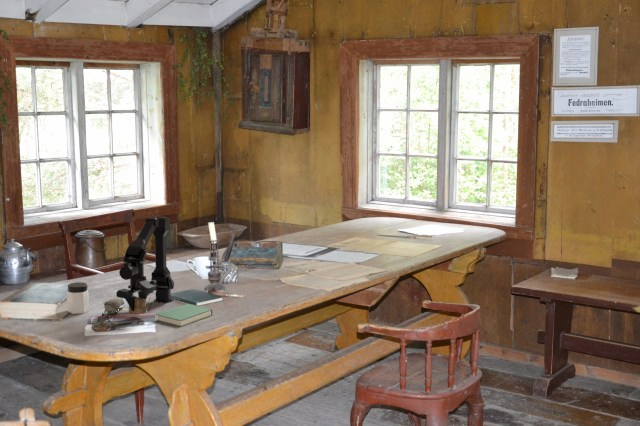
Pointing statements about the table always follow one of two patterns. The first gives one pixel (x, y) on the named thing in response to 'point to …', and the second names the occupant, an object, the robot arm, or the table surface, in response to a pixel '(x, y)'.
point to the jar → (77, 298)
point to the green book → (184, 315)
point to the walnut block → (138, 306)
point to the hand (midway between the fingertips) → (137, 309)
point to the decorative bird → (113, 305)
